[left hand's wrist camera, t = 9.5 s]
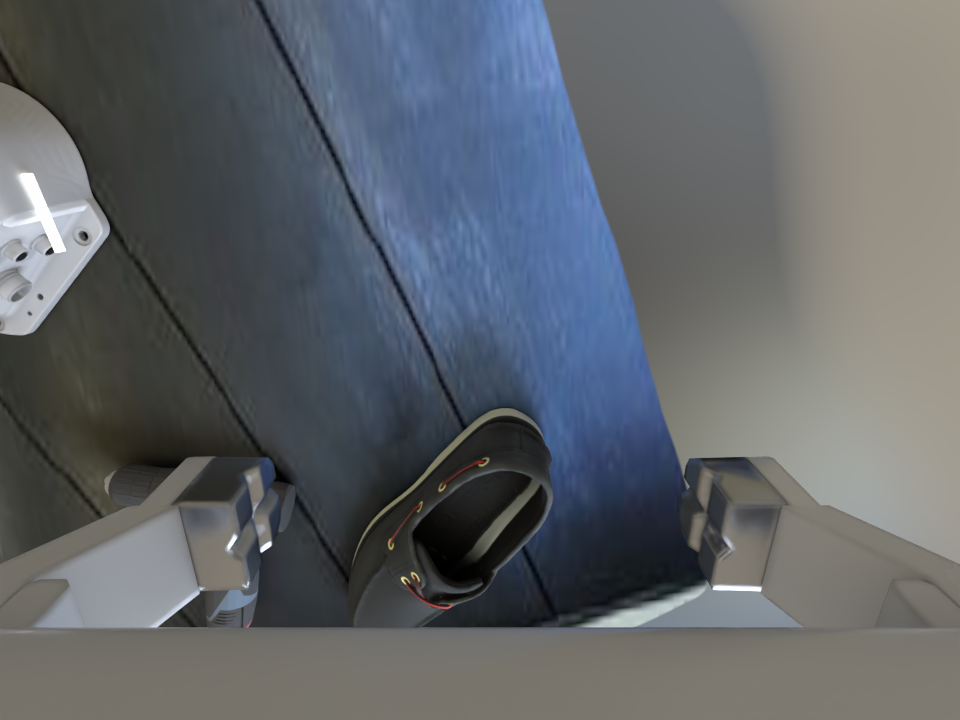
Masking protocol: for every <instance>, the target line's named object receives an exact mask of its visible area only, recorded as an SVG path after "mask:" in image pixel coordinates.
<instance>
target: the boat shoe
mask: <svg viewBox="0 0 960 720" xmlns="http://www.w3.org/2000/svg"><path fill="white" fill-rule="evenodd" d="M551 462H552V457H551V455H550V452H549V450H548V448H547V446H546V445H545V442H544V438H543V435H542V432H541V430H540V428H539V427H538V426H537V424H536V423H535V422H534V421H533V420H532V419H531V418H529V417H528V416H527V415H525V414H523V413H521V412H519V411H517V410H515V409H510V408H500V409H495V410H492V411H489V412H487V413H485V414H484V415H482V416H481V417H479V418H478V419H477V420H475V421H474V422H473V423H472V424H471V425H470V426H468V427H467V428H466V429H465V430H464V431H463V432H462V433H461V434H460V435H459V436H458V437H457V438H456V439H455V440H454V441H453V442H452V443H451V444H450V445H449V446H448V447H447V448H446V449H445V450H444V451H443V452H442V453H441V454H440V455H439V456H438V457H437V458H436V459H435V460H434V462H433V463H432V464H431V465H430V466H429V468H428V469H427V470H426V472H425V473H424V474H423V475H422V476H421V477H420V478H419V479H418V480H417V481H416V482H415V484H414V485H412V486H411V487H410V488H409V489H408V490H407V491H406V492H404V493H403V494H402V495H401V496H399V497H398V498H397V499H395V500H394V501H393V502H392V503H390V504H389V505H388V506H387V507H385V508H384V509H383V510H382V511H381V512H380V513H379V514H378V515H377V516H376V517H375V518H374V519H373V520H372V522H371V523H370V524H369V526H368V527H367V529H366V530H365V532H364V534H363V536H362V538H361V540H360V542H359V544H358V547H357V550H356V552H355V556H354V559H353V564H352V569H351V574H350V579H349V587H348V618H349V622H350V626H351V628H421V627H422V626H423V625H425V624H426V623H427V622H429V621H431V620H432V619H433V618H435V617H436V616H438V615H439V614H441V613H442V612H444V611H445V610H446V609H448V608H450V607H452V606H455V605H456V604H459V603H462V602H465V601H468V600H471V599H473V598H475V597H477V596H479V595H480V594H482V593H483V592H484V591H485V590H486V589H487V588H488V586H489V585H490V584H491V582H492V581H493V579H494V577H495V575H496V573H497V571H498V570H499V569H500V568H501V567H502V566H503V565H505V564H506V563H507V562H508V561H509V560H510V559H511V558H512V557H513V556H514V555H515V554H516V553H517V552H518V551H519V550H520V549H521V547H522V546H523V545H524V544H525V543H526V542H527V541H529V540H530V539H531V537H532V536H533V535H534V534H535V533H536V532H537V531H538V530H539V528H540V527H541V526H542V524H543V523H544V521H545V519H546V517H547V515H548V513H549V510H550V508H551V505H552V503H553V500H554V499H553V490H552V485H551V480H550V474H549V468H550V466H551Z"/></svg>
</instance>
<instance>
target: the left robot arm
mask: <svg viewBox="0 0 960 720" xmlns="http://www.w3.org/2000/svg"><path fill="white" fill-rule="evenodd" d="M84 232H86V233H87V234H88V239H87V238H86V237H85V235H84ZM109 232H110V226H109V223H108V220H107V218H106V216H105V215H104V213H103V211H102V210H101V208H100V206H99V205H98V203H97V202H96V200H95V199H94V197H93V195H92V192H91V189H90V185H89V181H88V177H87V173H86V169H85V166H84V163H83V160H82V158H81V156H80V153H79V151H78V149H77V147H76V145H75V143H74V142H73V140H72V138H71V137H70V135H69V134H68V132H67V131H66V130H65V128H64V127H63V126H62V125H61V123H60V122H59V121H58V120H57V119H56V118H55V117H54V116H53V115H52V114H51V113H50V112H49V111H48V110H47V109H46V108H45V107H44V106H43V105H41V104H40V103H39V102H38V101H36V100H35V99H33V98H32V97H30V96H29V95H27V94H26V93H24V92H22V91H20V90H18V89H16V88H14V87H12V86H10V85H7V84H4V83H1V82H0V322H1V323H0V333H3V334H9V335H26V334H30V333H33V332H34V331H35V330H36V329H37V328H38V327H39V326H40V324H41V323H42V322H43V320H44V319H45V318H46V317H47V315H48V314H49V313H50V311H51V310H52V309H53V307H54V306H55V305H56V303H57V302H58V301H59V300H60V298H61V297H62V296H63V294H64V293H65V292H66V290H67V289H68V288H69V286H70V285H71V284H72V282H73V281H74V280H75V279H76V277H77V276H78V275H79V273H80V272H81V271H82V269H83V268H84V267H85V265H86V264H87V263H88V262H89V260H90V259H91V258H92V256H93V255H94V254H95V252H96V251H97V250H98V248H99V247H100V246H101V245H102V243H103V242H104V241H105V239H106V238H107V237H108V235H109ZM275 478H276V474H275V469H274V465H273V462H272V461H271V460H270V459H269V458H262V457H216V456H203V457H190V458H186V459H185V460H184V461H183V462H182V463H181V464H180V465H179V466H178V467H177V468H176V469H175V470H174V471H173V472H172V473H171V474H170V475H169V476H168V477H167V478H166V479H165V480H164V481H163V482H162V483H161V484H160V485H159V486H158V487H157V488H156V489H155V490H154V491H153V492H152V493H151V494H150V496H149V497H148V498H147V499H146V500H145V501H144V502H143V503H142V504H141V505H136V506H129V507H127V508H124V509H122V510H120V511H118V512H115V513H113V514H111V515H109V516H106V517H104V518H102V519H100V520H98V521H95V522H93V523H91V524H89V525H86V526H84V527H82V528H80V529H78V530H75V531H73V532H71V533H69V534H66V535H64V536H62V537H60V538H57V539H55V540H53V541H51V542H49V543H46V544H44V545H42V546H40V547H37V548H35V549H33V550H31V551H28V552H26V553H24V554H22V555H20V556H17V557H15V558H13V559H11V560H8V561H6V562H4V563H2V564H0V720H960V564H958V563H956V562H953V561H951V560H949V559H947V558H945V557H942V556H940V555H938V554H936V553H933V552H931V551H929V550H927V549H925V548H922V547H920V546H918V545H916V544H913V543H911V542H909V541H907V540H905V539H902V538H900V537H898V536H896V535H893V534H891V533H889V532H887V531H885V530H882V529H880V528H878V527H876V526H873V525H871V524H869V523H867V522H865V521H862V520H860V519H858V518H856V517H853V516H851V515H849V514H847V513H845V512H842V511H840V510H838V509H836V508H833V507H831V506H825V505H819V504H818V502H816V500H814V498H813V497H812V496H811V495H810V494H809V493H808V492H807V491H806V490H805V489H804V488H803V487H802V486H801V485H800V484H799V483H798V482H797V481H796V480H795V479H794V478H793V477H792V476H791V475H790V474H789V473H788V472H787V471H786V470H785V469H784V468H783V467H782V466H781V465H780V464H779V463H778V462H777V461H776V460H775V459H773V458H771V457H768V456H756V457H726V458H691V459H689V461H688V463H687V465H686V468H685V474H684V478H685V480H686V481H687V483H688V484H689V486H690V488H689V489H688V490H687V491H686V492H685V493H684V494H683V495H682V496H681V498H680V506H679V519H680V527H681V530H682V533H683V536H684V538H685V540H686V542H687V544H688V545H689V546H690V547H692V548H693V549H695V550H696V551H698V552H699V556H698V562H697V563H698V564H699V566H700V568H701V570H702V572H703V573H704V575H705V577H706V579H707V581H708V583H709V584H710V586H711V588H712V590H745V591H761V592H760V593H761V594H762V595H763V596H764V597H766V598H767V599H768V600H770V601H771V602H772V603H773V604H775V605H776V606H777V607H779V608H780V609H781V610H782V611H784V612H785V613H786V614H787V615H789V616H790V617H791V618H792V619H794V620H795V621H796V622H797V623H799V624H800V625H801V626H802V627H803V628H802V627H799V628H796V627H795V628H794V627H792V628H789V627H786V628H785V627H782V628H781V627H779V628H200V627H158V626H159V625H160V624H162V623H163V622H164V621H165V620H167V619H168V618H169V617H170V616H172V615H173V614H174V613H175V612H177V611H178V610H179V609H181V608H182V607H183V606H184V605H186V604H187V603H188V602H189V601H191V600H192V599H193V598H194V597H196V596H197V595H198V594H199V593H200V592H199V591H215V590H248V588H249V586H250V585H251V583H252V581H253V579H254V577H255V575H256V574H257V572H258V570H259V568H260V566H261V564H262V563H263V562H262V556H261V552H262V551H264V550H265V549H267V548H268V547H270V546H271V545H272V544H273V542H274V540H275V538H276V536H277V534H278V530H279V525H280V521H281V504H280V498H279V496H278V495H277V494H276V493H275V492H274V491H273V490H272V489H271V488H270V486H271V484H272V483H273V481H274V480H275Z"/></svg>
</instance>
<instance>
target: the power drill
mask: <svg viewBox="0 0 960 720" xmlns="http://www.w3.org/2000/svg"><path fill="white" fill-rule="evenodd" d="M175 469H176V468H160V467H154V466H146V465H137V464H128V465H126V466H124V467H122V468H120V469H118V470H116V471H114V472H112V473H111V474H110V475H109V476H107V477H106V478H105V480H104V482H105V490H106V492H107V493H108V495H109V496H110V497H111V499H112V500H113V501H114V502H115V503H116V504H120V505H125V506H136V505H141V504H142V503H143V502H144V501H145V500H146V499H147V498H148V497H149V496H150V494H151V493H152V492H153V491H154V490H155V489H156V488H157V487H158V486H159V485H160V484H161V483H162V482H163V481H164V480H165V479H166V478H167V477H168V476H169V475H170V474H171V473H172V472H173V471H174V470H175ZM270 488H271V489H272V490H273V491H274V492H275V493H276V494H277V495H278V496H279V498H280V504H281V521H280V525H279V530H278V532H283V531H284V530H285V529H286V527H287V525H288V523H289V521H290V518H291V515H292V511H293V507H294V501H295V486H294V485H293V484H289V483H283V482H276V481H273V483H272V484H271V486H270ZM258 583H259V570H258V572H257V574H256V575H255V577H254V579H253V581H252V583H251V585H250V586H249V588H248V590H215V591H205V605H206V617H207V627H208V628H248V627H249V625H250V623H251V621H252V618H253V614H254V610H255V606H256V601H257V594H258Z"/></svg>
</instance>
